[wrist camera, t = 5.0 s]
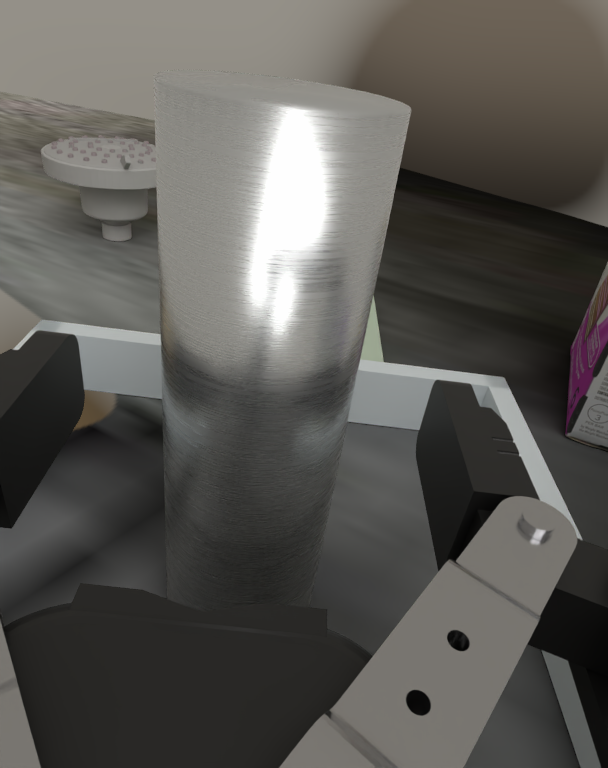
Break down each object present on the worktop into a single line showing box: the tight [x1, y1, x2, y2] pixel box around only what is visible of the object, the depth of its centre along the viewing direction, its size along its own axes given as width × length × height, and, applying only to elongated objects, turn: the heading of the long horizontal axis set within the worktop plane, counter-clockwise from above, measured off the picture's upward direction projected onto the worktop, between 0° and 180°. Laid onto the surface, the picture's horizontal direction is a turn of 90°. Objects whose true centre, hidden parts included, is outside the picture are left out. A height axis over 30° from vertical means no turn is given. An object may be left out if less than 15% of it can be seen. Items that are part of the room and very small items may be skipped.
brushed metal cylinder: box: [154, 70, 411, 611], centre depth 15 cm, size 5×5×15 cm
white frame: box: [13, 320, 601, 768], centre depth 18 cm, size 22×21×3 cm
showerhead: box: [41, 135, 157, 241], centre depth 42 cm, size 9×7×10 cm
